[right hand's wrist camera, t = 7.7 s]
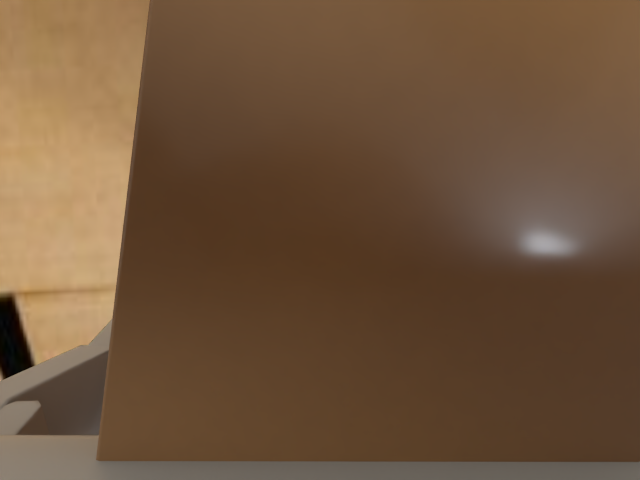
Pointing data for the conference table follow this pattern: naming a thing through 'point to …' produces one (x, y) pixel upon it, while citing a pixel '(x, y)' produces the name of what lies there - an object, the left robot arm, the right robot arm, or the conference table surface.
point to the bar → (381, 234)
